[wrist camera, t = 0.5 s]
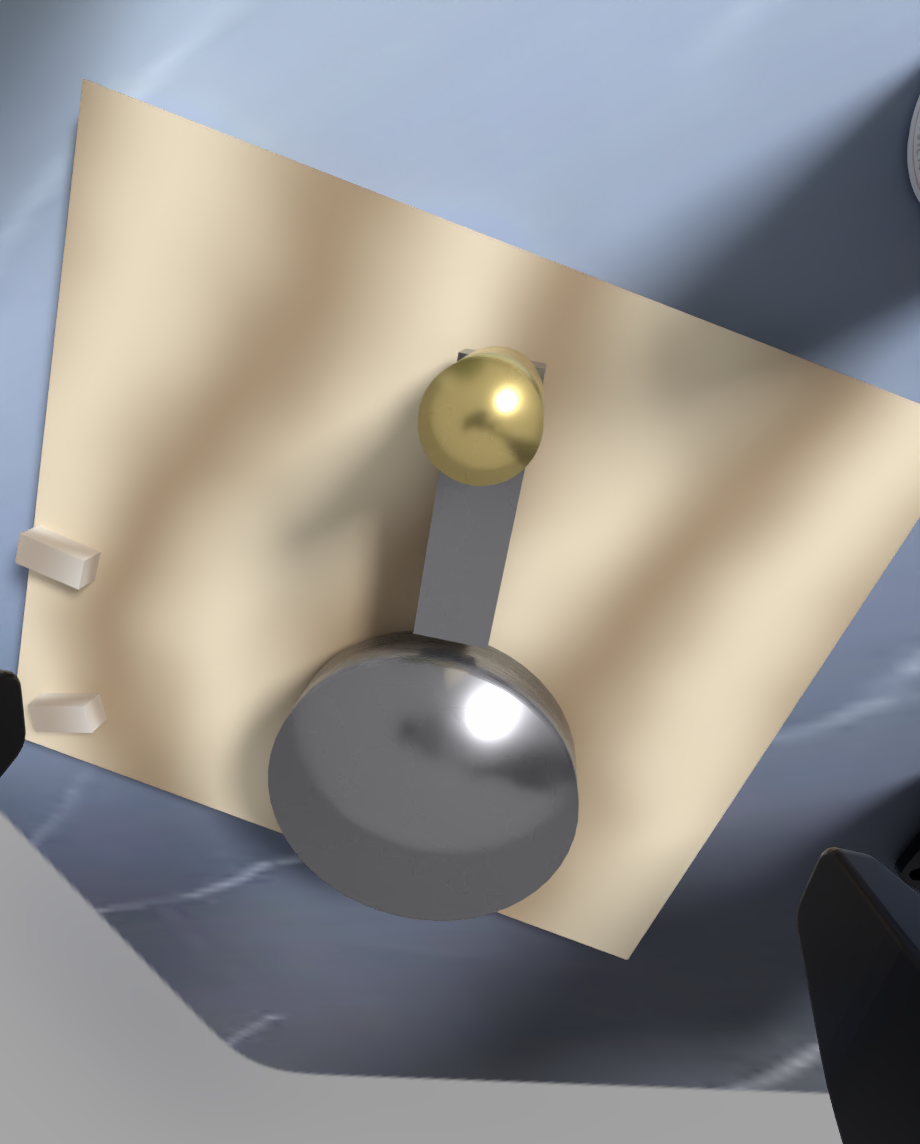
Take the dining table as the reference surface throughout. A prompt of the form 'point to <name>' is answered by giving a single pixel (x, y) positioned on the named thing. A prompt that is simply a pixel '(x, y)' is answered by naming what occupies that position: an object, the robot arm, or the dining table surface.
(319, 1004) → the dining table surface
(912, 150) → the pill bottle
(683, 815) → the stand board
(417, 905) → the lever
